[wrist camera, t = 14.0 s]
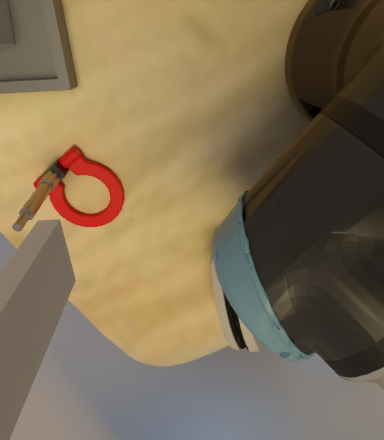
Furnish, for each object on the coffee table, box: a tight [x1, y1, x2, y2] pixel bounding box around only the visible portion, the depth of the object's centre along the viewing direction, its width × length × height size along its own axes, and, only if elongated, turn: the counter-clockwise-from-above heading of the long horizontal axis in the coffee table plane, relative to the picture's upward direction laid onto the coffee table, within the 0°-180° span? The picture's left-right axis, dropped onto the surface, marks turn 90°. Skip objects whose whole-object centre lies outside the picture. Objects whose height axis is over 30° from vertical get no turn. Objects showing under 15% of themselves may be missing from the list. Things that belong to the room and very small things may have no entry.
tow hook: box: [12, 146, 124, 231], centre depth 35 cm, size 8×13×9 cm
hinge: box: [210, 254, 262, 352], centre depth 44 cm, size 17×5×10 cm, turn 13°
